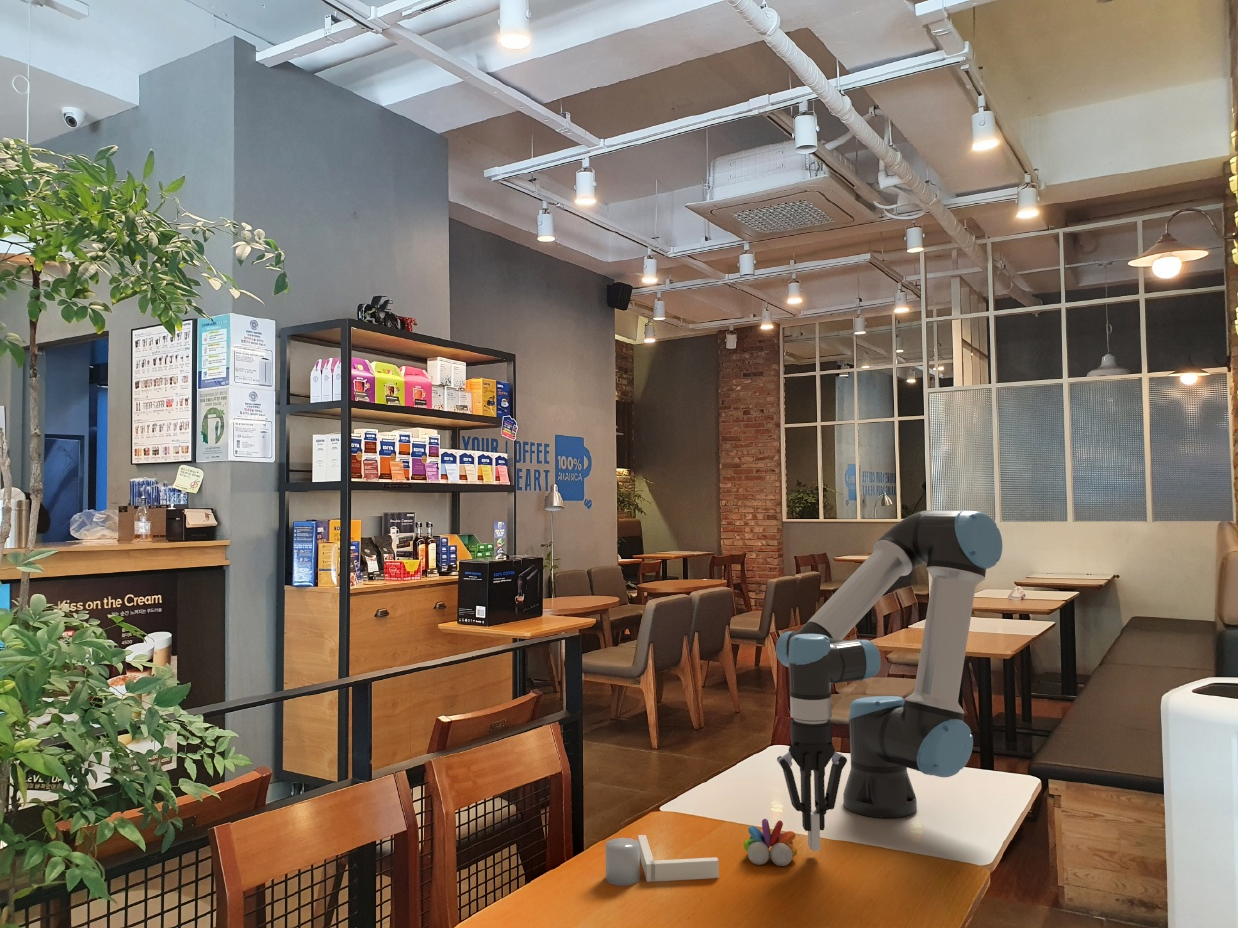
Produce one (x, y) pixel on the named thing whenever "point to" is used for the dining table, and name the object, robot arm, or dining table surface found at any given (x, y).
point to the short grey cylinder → (622, 861)
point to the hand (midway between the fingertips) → (814, 847)
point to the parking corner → (675, 866)
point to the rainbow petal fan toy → (770, 844)
